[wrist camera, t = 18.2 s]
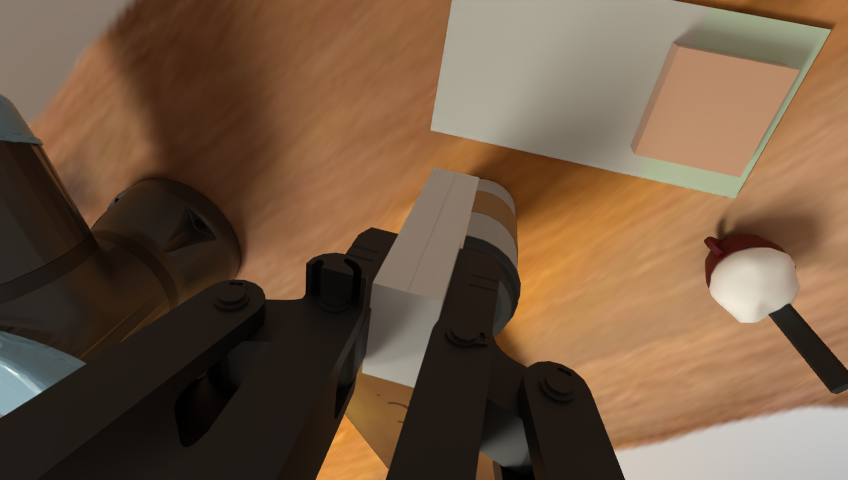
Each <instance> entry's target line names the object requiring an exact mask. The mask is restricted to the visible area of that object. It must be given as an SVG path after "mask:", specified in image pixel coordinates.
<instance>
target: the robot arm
mask: <svg viewBox="0 0 848 480" xmlns="http://www.w3.org/2000/svg"><path fill="white" fill-rule="evenodd" d="M42 145H43V143H42V141H41V140H40V139H38V138H36V137H35V136H34V134H33V133H32V131H31V130H30V128H29V127H28V125H27V124H26V122H25V121H24V119H23V118H22V116H21V115H20V113H19V112H18V110H17V109H16V107H15V106H14V105H13V103H12V102H11V101H10V100H8V99H7V98H6V97H4V96H3V95H1V94H0V414H1V415H4V416H3V417H1V418H0V480H316V477H317V475H318V473H319V471H320V468H321V466H322V464H323V461H324V459H325V457H326V455H327V452H328V450H329V448H330V446H331V443H332V441H333V439H334V436H335V434H336V432H337V430H338V427H339V425H340V423H341V420H342V418H343V416H344V414H345V411H346V409H347V407H348V404H349V402H350V400H351V398H352V395H353V393H354V390H355V384H356V377H357V373H358V371H359V368H360V366H361V364H362V362H363V367H362V373H364V374H368V375H371V376H375V377H378V378H382V379H385V380H389V381H392V382H396V383H399V384H403V385H406V386H410V387H413V388H414V390H413V393H412V396H411V400H410V403H409V406H408V409H407V413H406V416H405V419H404V422H403V426H402V429H401V432H400V435H399V439H398V442H397V445H396V448H395V451H394V455H393V458H392V461H391V464H390V468H389V471H388V474H387V477H386V480H476V473H477V466H478V459H479V451H480V452H482V453H483V454H485V455H486V456H488V457H489V458H491V459H492V460H493V471H494V477H495V480H625V478H624V476H623V473H622V470H621V468H620V465H619V463H618V460H617V458H616V455H615V452H614V450H613V447H612V445H611V442H610V440H609V437H608V435H607V432H606V429H605V427H604V424H603V422H602V419H601V417H600V414H599V412H598V409H597V406H596V404H595V401H594V399H593V396H592V394H591V391H590V389H589V387H588V386H587V384H586V383H585V381H584V379H582V378H581V377H580V376H579V375H578V374H577V373H576V372H575V371H573V370H572V369H570V368H568V367H566V366H564V365H562V364H559V363H554V362H550V361H545V362H537V363H535V364H533V365H531V366H529V367H528V368H527V367H525V366H523V365H522V364H520V363H518V362H516V361H514V360H513V359H511V358H510V357H508V356H507V355H506V354H505V353H504V352H503V351H502V350H501V349H500V348H499V347H498V345H497V344H496V342H495V340H494V337H493V324H494V317H495V310H496V302H497V295H498V288H499V281H500V274H501V268H500V266H499V264H498V262H497V260H496V258H495V257H493V256H489V255H485V254H481V253H477V252H473V251H469V250H465V249H463V245H464V241H465V236H466V232H467V228H468V224H469V219H470V215H471V211H472V207H473V203H474V198H475V194H476V190H477V186H478V182H479V177H475V176H471V175H466V174H462V173H458V172H453V171H449V170H445V169H441V168H436V167H434V169H433V171H432V172H431V174H430V176H429V178H428V180H427V182H426V184H425V186H424V187H423V189H422V191H421V193H420V195H419V197H418V199H417V201H416V202H415V204H414V206H413V208H412V210H411V212H410V214H409V216H408V217H407V219H406V221H405V223H404V225H403V227H402V229H401V231H400V232H399V234H396V233H392V232H388V231H384V230H380V229H376V228H370V229H368V230H366V231H364V232H362V233H361V234H359V235H358V236H357V238H356V239H355V241H354V242H353V244H352V246H351V247H350V248H349V250H348V251H347V253H346V254H340V253H329V254H322V255H319V256H317V257H314V258H312V259H311V260H310V261H309V262H307V263H306V294H305V296H304V297H303V298H302V299H297V300H267V299H265V294H264V292H263V290H262V288H260V287H259V286H258V285H256V284H255V283H252V282H249V281H246V280H233V279H234V278H235V277H236V275H237V273H238V270H239V266H240V250H239V245H238V241H237V239H236V236H235V234H234V232H233V230H232V228H231V226H230V224H229V223H228V221H227V220H226V218H225V217H224V216H223V214H222V213H221V212H220V211H219V210H218V209H217V208H216V207H215V206H214V205H213V204H212V203H211V202H210V201H209V200H208V199H206V198H205V197H204V196H202V195H201V194H200V193H198V192H196V191H195V190H193V189H191V188H189V187H187V186H185V185H183V184H180V183H178V182H174V181H171V180H166V179H148V180H144V181H141V182H138V183H137V184H135V185H133V186H131V187H129V188H127V189H126V190H124V191H122V192H121V193H120V194H118V195H117V196H116V197H115V198H114V199H113V201H112V202H111V203H110V205H109V207H108V209H107V211H106V212H105V213H104V214H103V215H102V216H101V217H100V218H99V219H98V220H97V221H96V223H95V224H94V225H93V226H92V228H91V229H89V227H88V225H87V224H86V222H85V220H84V219H83V217H82V215H81V213H80V212H79V210H78V208H77V207H76V205H75V203H74V202H73V200H72V198H71V197H70V195H69V193H68V191H67V190H66V188H65V186H64V184H63V183H62V181H61V179H60V177H59V176H58V174H57V172H56V170H55V169H54V167H53V165H52V163H51V162H50V160H49V158H48V156H47V155H46V153H45V151H44V149H43V148H42Z"/></svg>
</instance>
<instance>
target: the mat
mask: <svg viewBox="0 0 848 480" xmlns="http://www.w3.org/2000/svg"><path fill="white" fill-rule="evenodd" d="M830 31H831V30H829V29H824V28H819V27H814V26H808V25H803V24H798V23H792V22H787V21H781V20H776V19H771V18H765V17H760V16H755V15H749V14H744V13H738V12H733V11H728V10H722V9H717V8H712V7H706V6H701V5H695V4H690V3H685V2H679V1H674V0H452V4H451V10H450V16H449V22H448V28H447V34H446V40H445V46H444V52H443V58H442V64H441V70H440V76H439V82H438V88H437V94H436V100H435V106H434V112H433V118H432V124H431V130H432V131H437V132H441V133H446V134H450V135H455V136H459V137H463V138H468V139H472V140H477V141H481V142H486V143H490V144H494V145H499V146H503V147H508V148H512V149H517V150H521V151H525V152H530V153H534V154H539V155H543V156H548V157H552V158H557V159H561V160H565V161H570V162H574V163H579V164H583V165H588V166H592V167H596V168H601V169H605V170H610V171H614V172H619V173H623V174H628V175H632V176H636V177H642V178H646V179H650V180H655V181H659V182H664V183H668V184H673V185H677V186H681V187H686V188H690V189H695V190H699V191H704V192H708V193H713V194H717V195H721V196H726V197H730V198H736V196H737V194H738V193H739V191H740V189H741V187H742V186H743V184H744V182H745V180H746V179H747V177H748V175H749V173H750V172H751V170H752V168H753V166H754V165H755V163H756V161H757V159H758V158H759V156H760V154H761V152H762V151H763V149H764V147H765V145H766V144H767V142H768V140H769V138H770V137H771V135H772V133H773V131H774V130H775V128H776V126H777V124H778V123H779V121H780V119H781V117H782V116H783V114H784V112H785V110H786V109H787V107H788V105H789V103H790V102H791V100H792V98H793V96H794V95H795V93H796V91H797V89H798V87H799V86H800V84H801V82H802V80H803V79H804V77H805V75H806V73H807V72H808V70H809V68H810V66H811V65H812V63H813V61H814V59H815V58H816V56H817V54H818V52H819V51H820V49H821V47H822V45H823V44H824V42H825V40H826V38H827V37H828V35H829V33H830ZM672 43H677V44H682V45H688V46H693V47H698V48H703V49H708V50H713V51H719V52H724V53H729V54H734V55H739V56H745V57H750V58H755V59H760V60H765V61H770V62H776V63H781V64H786V65H789V66H791V67H794V68H796V69H798V70H800V71H799V73H798V75H797V77H796V78H795V80H794V82H793V84H792V86H791V87H790V89H789V91H788V93H787V94H786V96H785V98H784V100H783V102H782V103H781V105H780V107H779V109H778V111H777V112H776V114H775V116H774V118H773V119H772V121H771V123H770V125H769V127H768V128H767V130H766V132H765V134H764V135H763V137H762V139H761V141H760V143H759V144H758V146H757V148H756V150H755V152H754V153H753V155H752V157H751V159H750V160H749V162H748V164H747V166H746V168H745V169H744V171H743V173H742V175H741V177H736V176H731V175H726V174H722V173H717V172H713V171H708V170H703V169H699V168H694V167H690V166H685V165H680V164H676V163H671V162H667V161H662V160H657V159H653V158H648V157H644V156H639V155H634V153H633V151H632V149H631V147H630V145H631V143H632V140H633V138H634V135H635V133H636V130H637V128H638V126H639V123H640V121H641V118H642V116H643V113H644V111H645V108H646V106H647V104H648V101H649V99H650V96H651V94H652V91H653V89H654V86H655V84H656V81H657V79H658V77H659V74H660V72H661V69H662V67H663V64H664V62H665V59H666V57H667V54H668V52H669V50H670V47H671V45H672Z"/></svg>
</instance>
